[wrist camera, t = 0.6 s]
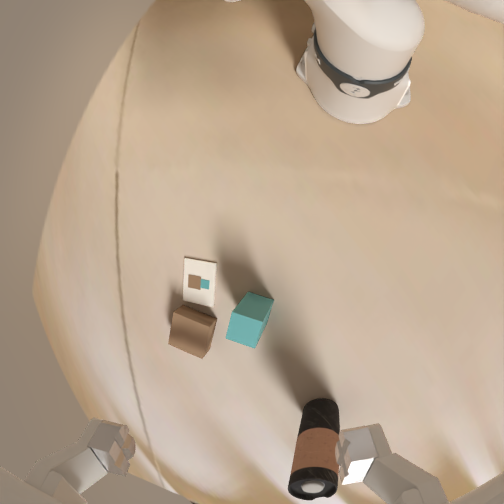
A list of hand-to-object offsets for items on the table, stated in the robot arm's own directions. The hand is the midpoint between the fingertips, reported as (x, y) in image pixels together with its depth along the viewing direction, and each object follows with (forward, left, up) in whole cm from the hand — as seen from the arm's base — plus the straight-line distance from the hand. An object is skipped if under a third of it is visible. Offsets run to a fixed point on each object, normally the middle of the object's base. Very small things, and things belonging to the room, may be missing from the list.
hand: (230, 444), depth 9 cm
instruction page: (+10, -16, -38) cm, 42 cm away
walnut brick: (+19, -15, -38) cm, 45 cm away
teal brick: (+11, -5, -38) cm, 39 cm away
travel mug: (+29, +13, -38) cm, 50 cm away
